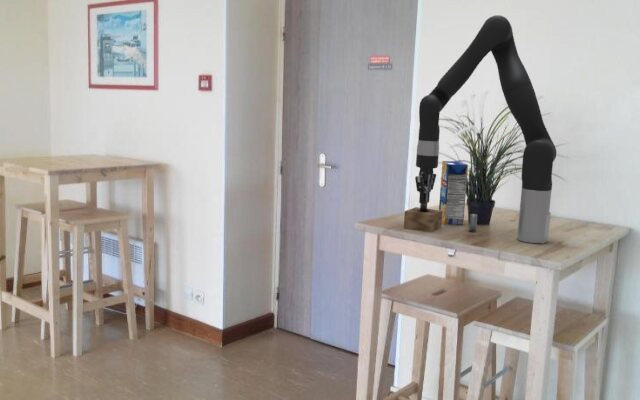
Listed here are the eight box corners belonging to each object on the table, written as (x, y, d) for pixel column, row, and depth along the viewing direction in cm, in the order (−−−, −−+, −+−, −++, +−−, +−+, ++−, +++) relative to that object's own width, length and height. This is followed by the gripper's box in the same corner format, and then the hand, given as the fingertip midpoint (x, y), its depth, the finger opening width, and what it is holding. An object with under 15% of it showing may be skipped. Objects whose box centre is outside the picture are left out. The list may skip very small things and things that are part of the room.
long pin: (427, 214, 217) (429, 183, 216) (424, 215, 215) (427, 184, 214) (421, 213, 219) (423, 182, 217) (418, 214, 217) (420, 183, 215)
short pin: (476, 231, 215) (478, 214, 214) (474, 232, 213) (476, 215, 212) (470, 230, 216) (471, 213, 215) (467, 231, 214) (469, 214, 213)
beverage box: (444, 224, 225) (448, 164, 221) (438, 218, 235) (442, 160, 232) (463, 225, 225) (468, 164, 221) (456, 219, 236) (460, 161, 232)
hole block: (441, 227, 219) (442, 210, 218) (430, 232, 211) (431, 214, 210) (415, 223, 225) (416, 207, 224) (403, 227, 216) (404, 211, 215)
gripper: (430, 155, 206) (426, 207, 209) (445, 153, 217) (441, 201, 220) (409, 154, 210) (406, 204, 213) (425, 151, 221) (421, 199, 224)
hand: (424, 202), depth 216 cm, fingers closed on long pin, 2 cm apart
